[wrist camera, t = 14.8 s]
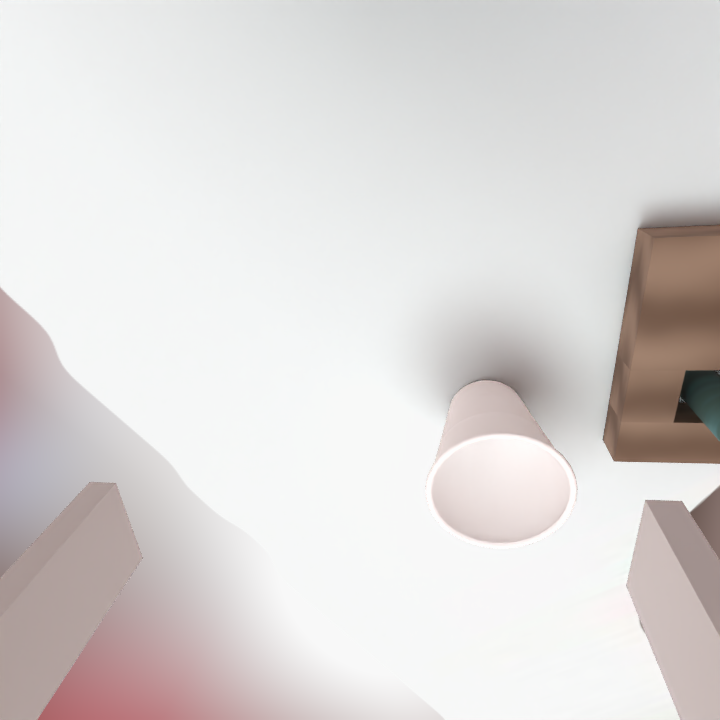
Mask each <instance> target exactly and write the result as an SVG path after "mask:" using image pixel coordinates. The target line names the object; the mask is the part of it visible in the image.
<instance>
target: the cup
mask: <svg viewBox="0 0 720 720" xmlns="http://www.w3.org/2000/svg"><path fill="white" fill-rule="evenodd" d="M425 487H426V499H427V503H428V506H429V509H430V511H431V512H432V514H433V516H434V518H435V519H436V520H437V521H438V523H439V524H440V525H441V526H442V527H443V528H444V529H445V530H447V531H448V532H449V533H451V534H452V535H453V536H455V537H457V538H459V539H461V540H463V541H465V542H468V543H471V544H474V545H477V546H483V547H489V548H513V547H520V546H524V545H528V544H532V543H534V542H537V541H539V540H541V539H544V538H545V537H547V536H549V535H550V534H552V533H553V532H555V531H556V530H557V529H558V528H559V527H560V526H561V525H562V524H563V523H565V521H566V520H567V518H568V517H569V515H570V514H571V513H572V510H573V508H574V505H575V502H576V497H577V483H576V477H575V474H574V472H573V470H572V467H571V465H570V464H569V463H568V461H567V460H566V459H565V457H564V456H563V455H562V454H561V453H560V452H558V451H557V450H556V449H555V448H554V447H553V445H552V444H551V442H550V441H549V439H548V438H547V437H546V435H545V434H544V432H543V431H542V429H541V428H540V426H539V425H538V424H537V422H536V421H535V419H534V418H533V416H532V415H531V413H530V412H529V411H528V409H527V408H526V406H525V404H524V403H523V401H522V400H521V399H520V397H519V396H518V394H517V393H516V392H515V391H514V390H513V389H512V388H511V387H509V386H507V385H505V384H503V383H500V382H498V381H491V380H482V381H477V382H473V383H471V384H468V385H466V386H465V387H463V388H462V389H460V390H459V391H458V392H457V393H456V395H455V396H454V397H453V399H452V401H451V403H450V407H449V411H448V415H447V419H446V423H445V426H444V430H443V433H442V437H441V441H440V445H439V448H438V452H437V455H436V459H435V463H434V464H433V466H432V468H431V470H430V472H429V474H428V477H427V482H426V486H425Z"/></svg>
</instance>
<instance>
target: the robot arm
mask: <svg viewBox="0 0 720 720" xmlns="http://www.w3.org/2000/svg"><path fill="white" fill-rule="evenodd" d="M142 559H143V557H142V555H141V552H140V549H139V546H138V543H137V541H136V538H135V535H134V532H133V529H132V527H131V524H130V521H129V518H128V516H127V513H126V510H125V507H124V505H123V502H122V499H121V496H120V493H119V491H118V488H117V485H116V483H101V482H89V484H88V485H87V486H86V487H85V488H84V489H83V490H82V491H81V492H80V493H79V494H78V495H77V496H76V497H75V499H74V500H73V501H72V502H71V503H70V504H69V505H68V506H67V507H66V508H65V509H64V510H63V511H62V512H61V513H60V515H59V516H58V517H57V518H56V519H55V520H54V521H53V522H52V523H51V524H50V525H49V526H48V527H47V528H46V530H45V531H44V532H43V533H42V534H41V535H40V536H39V537H38V538H37V539H36V540H35V541H34V542H33V543H32V545H31V546H30V547H29V548H28V549H27V550H26V551H25V552H24V553H23V554H22V555H21V556H20V558H18V560H17V561H16V562H15V563H14V564H13V565H12V566H11V567H10V568H9V569H8V570H7V571H6V572H5V574H4V575H3V576H2V577H1V578H0V720H37V719H38V717H39V716H40V714H41V713H42V711H43V710H44V708H45V707H46V705H47V704H48V702H49V701H50V699H51V698H52V696H53V695H54V693H55V692H56V690H57V689H58V687H59V685H60V684H61V682H62V681H63V679H64V678H65V676H66V675H67V673H68V672H69V670H70V669H71V667H72V666H73V664H74V663H75V661H76V660H77V658H78V656H79V655H80V653H81V652H82V650H83V649H84V647H85V646H86V644H87V643H88V641H89V640H90V638H91V637H92V635H93V634H94V632H95V630H96V629H97V627H98V626H99V624H100V623H101V621H102V620H103V618H104V617H105V615H106V614H107V612H108V611H109V609H110V608H111V606H112V605H113V603H114V602H115V600H116V598H117V597H118V595H119V594H120V592H121V591H122V589H123V588H124V586H125V585H126V583H127V582H128V580H129V579H130V577H131V576H132V574H133V572H134V571H135V569H136V568H137V566H138V565H139V563H140V562H141V560H142ZM626 586H627V589H628V591H629V594H630V596H631V598H632V601H633V603H634V606H635V608H636V611H637V613H638V616H639V618H640V621H641V623H642V626H643V628H644V631H645V633H646V636H647V638H648V640H649V643H650V645H651V648H652V650H653V653H654V655H655V658H656V660H657V663H658V665H659V668H660V670H661V673H662V675H663V677H664V680H665V682H666V685H667V687H668V690H669V692H670V695H671V697H672V700H673V702H674V705H675V707H676V710H677V712H678V715H679V717H680V719H681V720H720V560H719V559H718V557H717V555H716V554H715V552H714V551H713V549H712V547H711V546H710V544H709V543H708V541H707V540H706V538H705V537H704V535H703V533H702V532H701V530H700V529H699V527H698V526H697V524H696V522H695V521H694V519H693V518H692V516H691V514H690V513H689V511H688V510H687V508H686V507H685V505H684V503H683V502H682V501H661V500H645V504H644V508H643V513H642V517H641V522H640V526H639V531H638V535H637V540H636V544H635V548H634V553H633V557H632V562H631V566H630V571H629V575H628V580H627V584H626Z"/></svg>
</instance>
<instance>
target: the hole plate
mask: <svg viewBox="0 0 720 720" xmlns="http://www.w3.org/2000/svg"><path fill="white" fill-rule="evenodd" d="M686 370H720V225H708V226H685V227H663V228H640V229H638V231H637V237H636V243H635V249H634V255H633V261H632V267H631V273H630V279H629V285H628V291H627V297H626V303H625V309H624V316H623V322H622V328H621V334H620V340H619V346H618V352H617V358H616V364H615V370H614V376H613V382H612V388H611V394H610V400H609V406H608V412H607V418H606V425H605V431H604V437H603V441H604V443H605V445H606V447H607V449H608V451H609V453H610V454H611V456H612V458H613V460H614V461H620V462H667V463H713V464H720V441H719V440H718V439H717V438H716V437H715V436H714V434H713V433H712V432H711V431H710V430H709V429H708V428H707V426H706V425H705V424H704V423H703V422H702V421H701V419H700V418H699V417H698V416H697V415H696V414H695V412H694V411H693V410H692V409H691V408H690V407H689V406H688V404H687V403H678V401H679V397H680V393H681V388H682V384H683V380H684V376H685V371H686Z"/></svg>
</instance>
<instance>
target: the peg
mask: <svg viewBox="0 0 720 720" xmlns="http://www.w3.org/2000/svg"><path fill="white" fill-rule="evenodd" d="M680 396H681V397H682V399H683V400H684V401H685V402H686V403H687V404H688V406H689V407H690V408H691V409H692V410H693V411H694V412H695V414H696V415H697V416H698V417H699V418H700V419H701V421H702V422H703V423H704V424H705V425H706V426H707V428H708V429H709V430H710V431H711V432H712V433H713V434H714V436H715V437H716V438H717V439H718V440H719V441H720V375H718V374H717V373H716V372H715V371H714V370H686V371H685V376H684V380H683V384H682V388H681V393H680Z"/></svg>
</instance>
